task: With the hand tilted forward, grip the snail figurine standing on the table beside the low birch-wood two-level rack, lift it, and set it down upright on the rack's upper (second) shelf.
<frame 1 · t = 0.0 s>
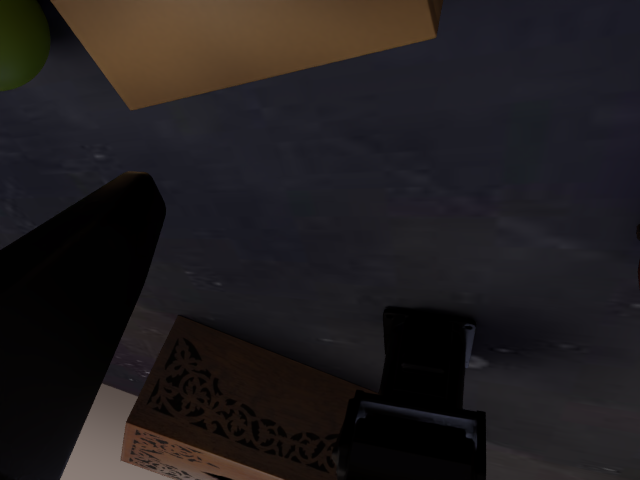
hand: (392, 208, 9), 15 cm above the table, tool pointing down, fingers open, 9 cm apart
snail figurine: (25, 10, 25), on the table
tissue box cover: (287, 388, 53), on the table
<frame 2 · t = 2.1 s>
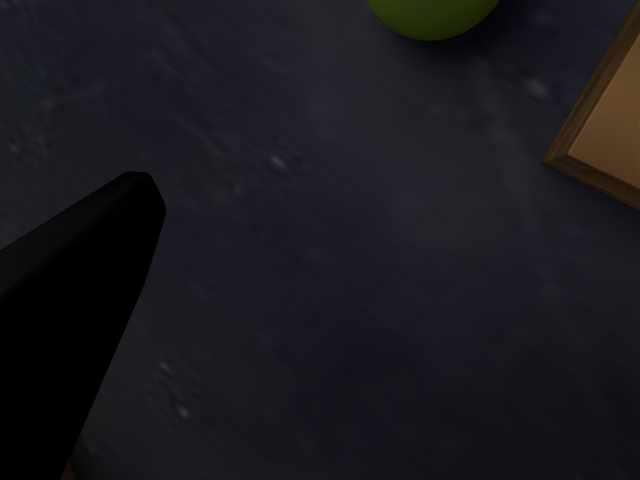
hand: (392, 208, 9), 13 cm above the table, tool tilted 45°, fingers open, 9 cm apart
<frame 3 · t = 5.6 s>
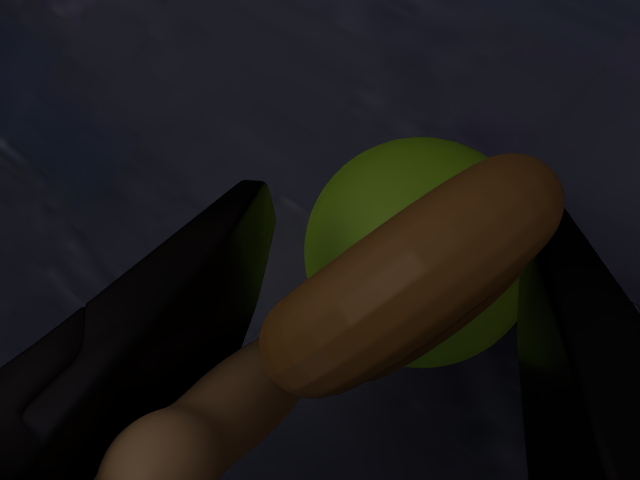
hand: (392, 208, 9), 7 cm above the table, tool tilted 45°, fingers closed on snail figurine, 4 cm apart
snail figurine: (411, 254, 15), on the table, touching gripper
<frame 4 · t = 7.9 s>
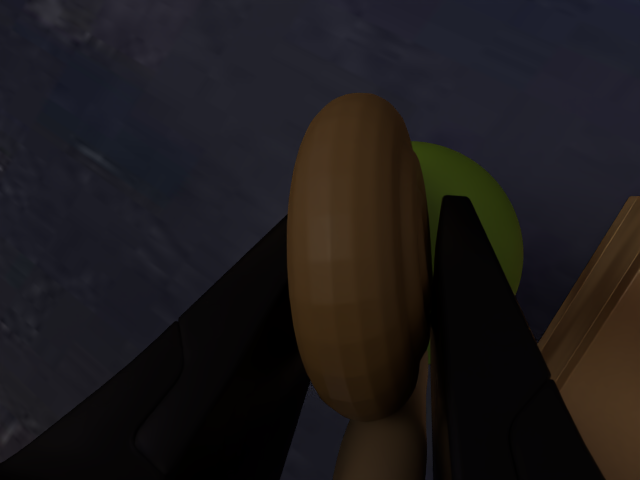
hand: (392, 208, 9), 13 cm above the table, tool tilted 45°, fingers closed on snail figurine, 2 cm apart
snail figurine: (416, 263, 15), point 6 cm above the table, touching gripper
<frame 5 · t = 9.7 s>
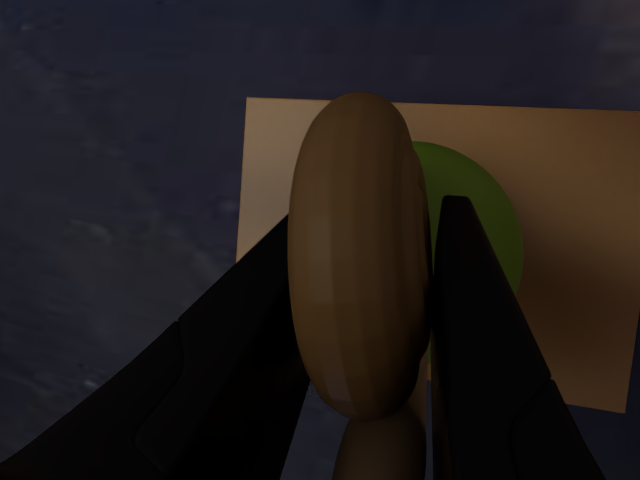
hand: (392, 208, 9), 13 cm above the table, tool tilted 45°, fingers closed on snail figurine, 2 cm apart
rack: (429, 234, 21), on the table
snail figurine: (416, 263, 15), point 6 cm above the table, touching gripper
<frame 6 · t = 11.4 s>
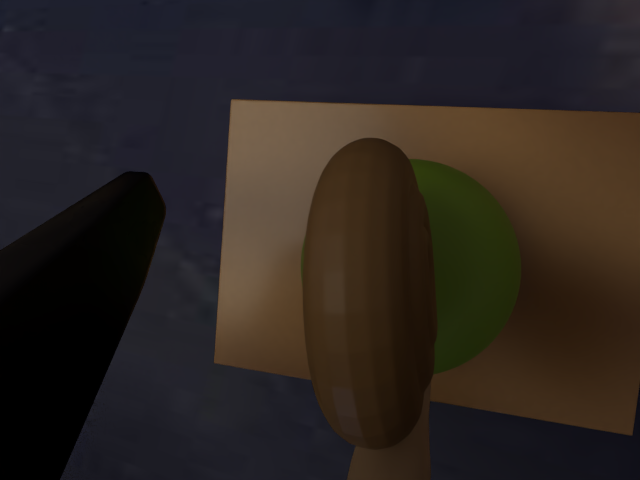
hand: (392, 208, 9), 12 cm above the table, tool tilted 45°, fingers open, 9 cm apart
rack: (425, 243, 20), on the table
snail figurine: (416, 271, 16), point 5 cm above the table, touching rack
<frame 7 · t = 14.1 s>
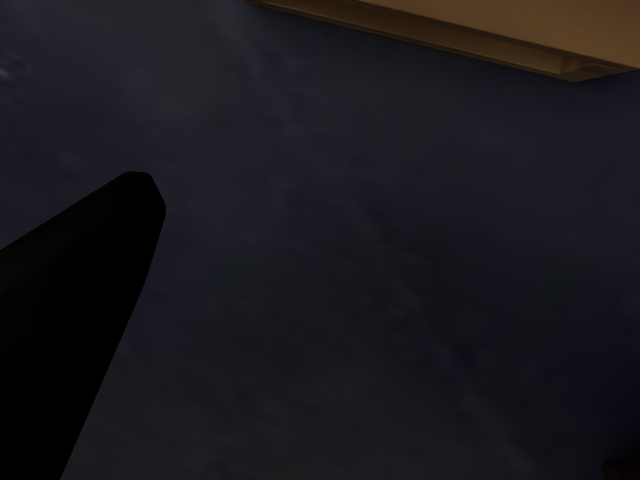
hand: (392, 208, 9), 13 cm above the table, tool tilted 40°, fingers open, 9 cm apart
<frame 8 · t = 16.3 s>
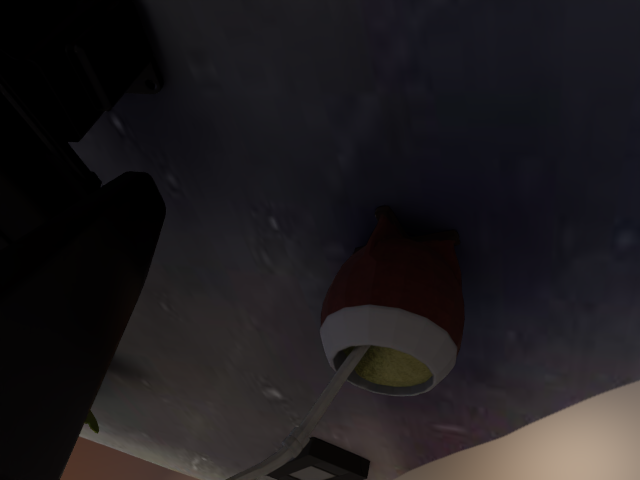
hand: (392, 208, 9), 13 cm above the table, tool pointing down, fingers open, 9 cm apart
mate gourd: (396, 239, 29), on the table
vhs tape: (315, 457, 63), on the table
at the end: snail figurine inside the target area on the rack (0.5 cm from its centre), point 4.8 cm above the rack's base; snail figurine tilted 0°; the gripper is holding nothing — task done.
